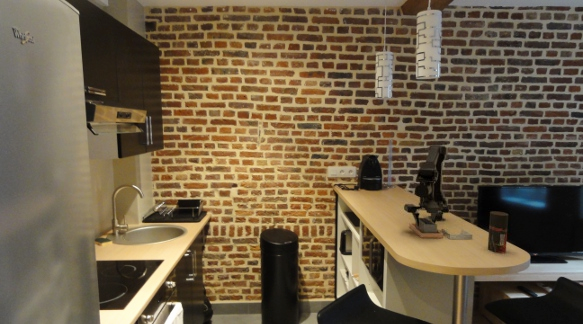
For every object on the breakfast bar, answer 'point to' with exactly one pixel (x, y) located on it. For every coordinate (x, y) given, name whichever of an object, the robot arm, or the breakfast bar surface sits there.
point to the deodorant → (498, 232)
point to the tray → (425, 235)
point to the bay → (457, 235)
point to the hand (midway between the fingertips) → (425, 226)
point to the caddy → (426, 226)
